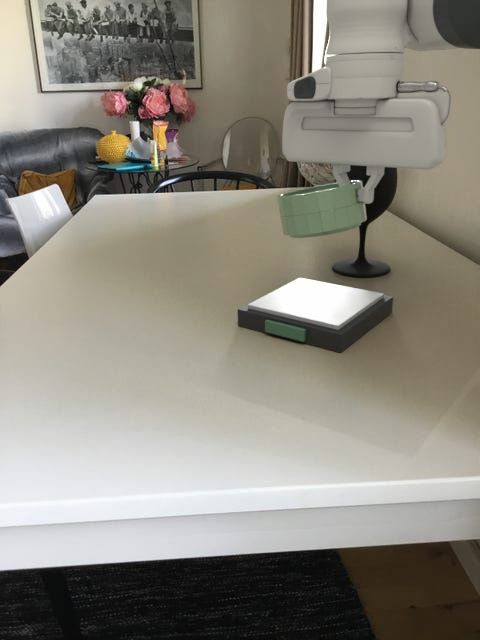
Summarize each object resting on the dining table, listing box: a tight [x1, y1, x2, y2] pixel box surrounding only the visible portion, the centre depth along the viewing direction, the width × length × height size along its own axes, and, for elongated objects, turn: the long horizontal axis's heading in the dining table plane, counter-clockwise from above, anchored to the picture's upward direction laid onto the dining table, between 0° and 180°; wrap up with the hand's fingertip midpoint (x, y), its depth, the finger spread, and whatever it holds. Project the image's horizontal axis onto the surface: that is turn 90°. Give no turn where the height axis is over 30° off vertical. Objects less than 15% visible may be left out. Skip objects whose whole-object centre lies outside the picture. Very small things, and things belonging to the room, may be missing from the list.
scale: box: [237, 277, 394, 354], centre depth 80 cm, size 16×17×3 cm
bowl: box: [276, 180, 367, 239], centre depth 74 cm, size 11×11×6 cm
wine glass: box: [331, 165, 398, 279], centre depth 98 cm, size 10×10×20 cm
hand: (356, 201), depth 71 cm, fingers closed on bowl
